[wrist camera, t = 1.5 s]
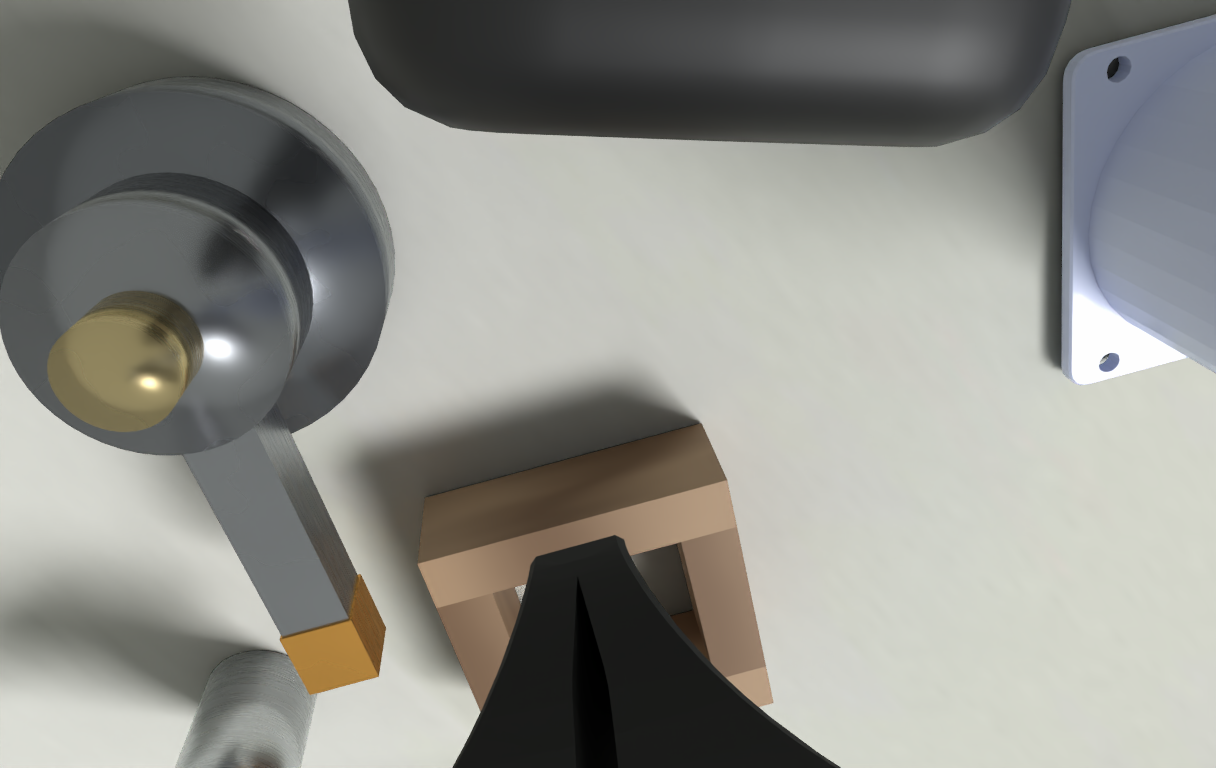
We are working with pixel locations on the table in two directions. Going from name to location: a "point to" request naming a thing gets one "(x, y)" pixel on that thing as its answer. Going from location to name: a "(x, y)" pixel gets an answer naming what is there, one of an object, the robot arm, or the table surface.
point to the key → (250, 715)
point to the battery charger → (714, 66)
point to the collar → (211, 387)
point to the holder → (587, 511)
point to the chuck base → (242, 159)
